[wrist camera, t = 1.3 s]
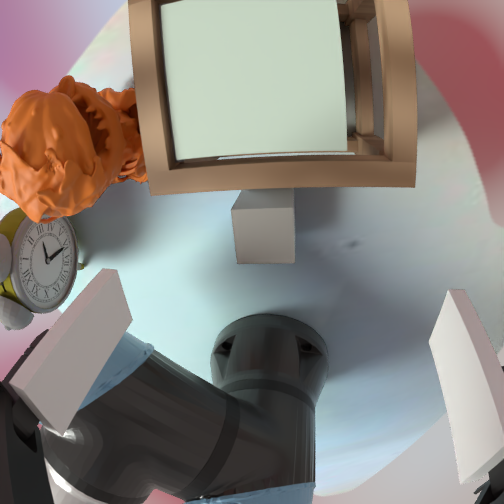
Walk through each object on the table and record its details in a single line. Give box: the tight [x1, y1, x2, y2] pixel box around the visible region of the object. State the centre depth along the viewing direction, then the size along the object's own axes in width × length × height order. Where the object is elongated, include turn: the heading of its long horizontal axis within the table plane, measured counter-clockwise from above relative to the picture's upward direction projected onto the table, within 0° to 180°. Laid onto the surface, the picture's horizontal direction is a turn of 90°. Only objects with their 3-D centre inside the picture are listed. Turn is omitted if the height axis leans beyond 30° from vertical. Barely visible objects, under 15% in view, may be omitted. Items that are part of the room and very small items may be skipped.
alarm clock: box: [0, 207, 84, 330], centre depth 30 cm, size 12×7×15 cm, turn 179°
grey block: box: [231, 188, 295, 264], centre depth 30 cm, size 5×5×6 cm
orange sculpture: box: [0, 75, 148, 224], centre depth 22 cm, size 11×11×18 cm
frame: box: [128, 0, 417, 196], centre depth 21 cm, size 14×16×12 cm
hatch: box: [159, 0, 347, 163], centre depth 16 cm, size 10×10×1 cm
